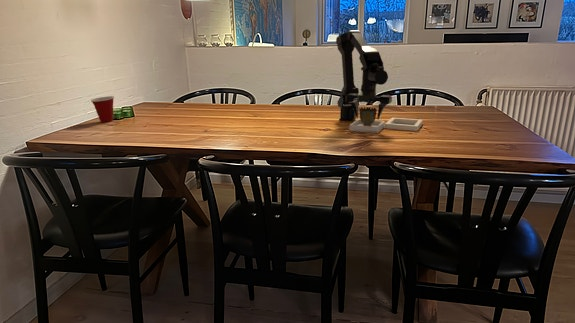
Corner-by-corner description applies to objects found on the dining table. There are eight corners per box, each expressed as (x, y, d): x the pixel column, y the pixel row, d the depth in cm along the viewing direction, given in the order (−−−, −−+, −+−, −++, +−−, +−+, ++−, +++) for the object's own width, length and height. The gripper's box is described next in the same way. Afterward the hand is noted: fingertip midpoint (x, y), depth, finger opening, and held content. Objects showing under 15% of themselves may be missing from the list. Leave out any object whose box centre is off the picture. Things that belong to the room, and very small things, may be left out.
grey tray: (349, 130, 169) (349, 124, 168) (357, 124, 179) (358, 119, 178) (377, 133, 164) (377, 127, 163) (384, 126, 174) (384, 121, 173)
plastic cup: (95, 120, 202) (91, 96, 198) (118, 118, 205) (114, 95, 201) (93, 124, 192) (88, 100, 188) (116, 122, 195) (113, 98, 192)
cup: (376, 129, 167) (376, 110, 164) (358, 128, 168) (358, 110, 166) (375, 124, 174) (376, 106, 171) (358, 124, 175) (359, 106, 172)
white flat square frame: (384, 128, 172) (384, 123, 171) (391, 121, 183) (392, 117, 182) (417, 130, 166) (417, 126, 165) (422, 124, 177) (422, 119, 176)
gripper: (341, 83, 162) (340, 120, 167) (386, 85, 154) (384, 124, 159) (350, 80, 172) (349, 115, 177) (393, 81, 164) (391, 118, 168)
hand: (367, 118), depth 170 cm, fingers open, 9 cm apart
